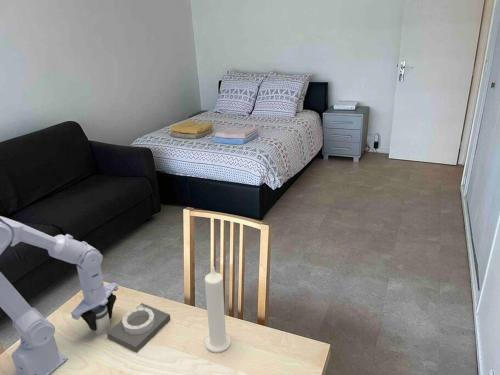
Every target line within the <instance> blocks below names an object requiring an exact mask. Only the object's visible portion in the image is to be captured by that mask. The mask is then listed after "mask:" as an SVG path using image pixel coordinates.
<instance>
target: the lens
mask: <svg viewBox="0 0 500 375" xmlns="http://www.w3.org/2000/svg"><path fill="white" fill-rule="evenodd" d="M90 310H92V312H94V313H96V326H97V330H96V331H93V333H94V334H95V335H103V334H105V333H106V334H107V332H108V331H109V330H111V329H112V327H111V326H112V325H111V319H109V315H108V308H107V306H106V305H103V306H102V305H99V306H97V307H95V308H92V309H90Z"/></svg>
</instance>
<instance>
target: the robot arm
mask: <svg viewBox="0 0 500 375" xmlns="http://www.w3.org/2000/svg"><path fill="white" fill-rule="evenodd" d="M21 242H22V243H26V244H29V245H31V246H35V247H37V248H40V249H41V248H42V249H45V250H47V252H48V255H49V256H50V257H52V258H55V259H56V260H60V261H64V262H66V263H70V264H72V265H76V269H77V274H78V278H79V282H80V287H81V292H82V296H83V299H82V300H81V301H80V302H79V304H78V305H77V306H76V307H75V309H73V310H72V311H70V313H71V318H72V319H74V320H76V321H79V319H82V320H84V322H85V323H86V324H87V326H88V328H89V330H91V331H92V332H94V331H96V330H97V326H96V313H94V312H92V310H90V309H92V308H95V307H97V306H99V305H102V306H103V305H106V306H107V308H108V315H109V319H110V320H111V319H112V317H113V316H112V315H113V310H114V306H115V303H116V300H117V295H115V294H113V293H114V292H117V291H119V285H118V283H115V282H111V283H110V284H107V285H105V283H104V282H105V281H104V277H103V272H102V268H101V264H102V262H103V259H104V258H103V257H104V256H103V254H101V251H100V250H98V249H97V248H95V247H94V246H92V245H90V244H88V242H87V241H84V240H83V241H79V240H76V239H74V236H73V235H71V234H69V233H66V234H65V235H63V234H57V235H55V236H52V235H49V234H47V233H45V232H42V231H40V230H38V229H35V228H33V227H31V226H28V225H27V224H24V223H22V222H20V221H16V220H13V219H10V218H8V217H5V216H1V215H0V256H1V255H2V253H3V252H4V251H5V250H6V248H7V247H8V246H10V247H14V246H15V245H18V244H19V243H21ZM0 308H1V310H3V312H5V314H6V315H7V316H8V317H9V318H10V319H11V320H12V325H13V329H14V330H15V331H17V332H18V333H19V335H20V341H19V342H20V343H19V345H18V346H17V348H16V349H15V350H14V351H12V353H11V358H12V362H13V364H14V367H15V370H16V371H15V374H16V375H51V373H53V372H54V371H55V370H56V369H57V368H59V367H60V366H61V365H62V364H64V363H65V362H66V361H67V360H68V359H69V358H68V356H67V355H66V354H64V353H61V352H60V351H59V349H58V345H57V342H56V338H55V333H56V328H55V325H54V324H53V323H52V322H50V321H49V320H48V319H47V318H46V317H44V316H43V314H42V313H41V312H40V310H38V309H37V308H36V307H31V305H30V304H29V303H28V301H26V299H25V298H24V297H23V296H22V295H21V294H20V292H18V290H17V289H16V288H15V287H14V285H13V284H12V283H11V282H10V281H9V280H8V279H7V277H5V275H4V274H3V273H2V272H1V271H0Z"/></svg>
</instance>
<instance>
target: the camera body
mask: <svg viewBox="0 0 500 375" xmlns="http://www.w3.org/2000/svg"><path fill="white" fill-rule="evenodd" d="M170 321H171V314H170V313H168V312H165V311H163V310H160V309H158V308H155V307H153V306H150V305H148V304H145V303H143V302H142V303H140V304H139V305H138V306H136V307H135V308H134V309H131V310H129V311H128V312H127V313H125V314H124V315H123V318H122V319H121V320H120V321H119V322H118V323H116V324H115V325H114V326H113V327H111V328H110V330H109V331H108V332H106V336H107V339H108V340H110V341H113V342H114V343H117V344H119V345H120V346H123V347H125V348H126V349H128V350H130V351H133V352H135V353H138V352H139V351H140V350H142V348H143V347H145V345H147V343H148V342H150V341H151V339H153V338H154V336H156V334H158V333H159V332H160V331H161V330H162V329H163V328H164V327H165V326H166V324H168V323H169V322H170Z"/></svg>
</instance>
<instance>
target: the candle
mask: <svg viewBox="0 0 500 375" xmlns="http://www.w3.org/2000/svg"><path fill="white" fill-rule="evenodd" d="M210 269H211V270H210V273H208V274H206V275H205V277H204V286H205V300H206V313H207V324H208V325H207V326H208V335H207V337H206V338H205V340H204V345H205V346H204V347H205V348H206V349H207V350H208V352H211V353H216V354H217V353H220V354H221V353H223V352H225V351H227V350H228V349H229V348H230V346H231V345H232V344H231V343H232V342H231V337H230V335H229V334H228V333H226V315H225V298H224V297H225V296H224V281H223V275H222V274H221V273H219V272H216V269H215V267H214V266H212V267H211V268H210Z"/></svg>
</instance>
